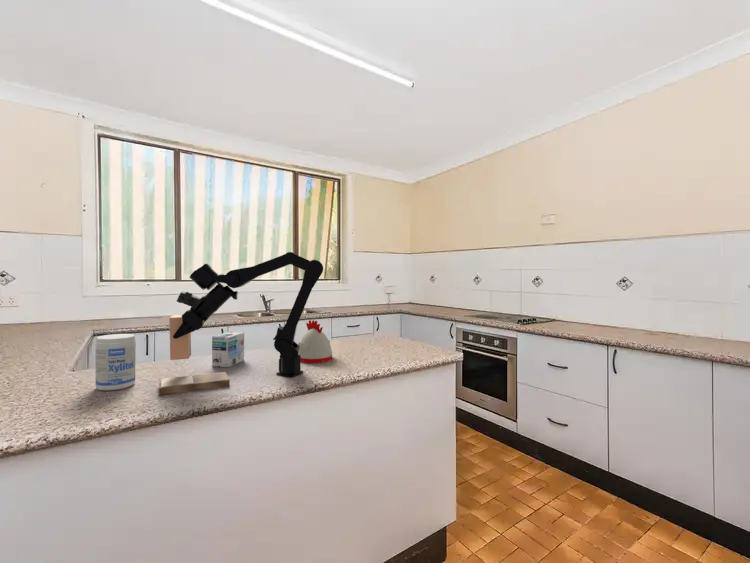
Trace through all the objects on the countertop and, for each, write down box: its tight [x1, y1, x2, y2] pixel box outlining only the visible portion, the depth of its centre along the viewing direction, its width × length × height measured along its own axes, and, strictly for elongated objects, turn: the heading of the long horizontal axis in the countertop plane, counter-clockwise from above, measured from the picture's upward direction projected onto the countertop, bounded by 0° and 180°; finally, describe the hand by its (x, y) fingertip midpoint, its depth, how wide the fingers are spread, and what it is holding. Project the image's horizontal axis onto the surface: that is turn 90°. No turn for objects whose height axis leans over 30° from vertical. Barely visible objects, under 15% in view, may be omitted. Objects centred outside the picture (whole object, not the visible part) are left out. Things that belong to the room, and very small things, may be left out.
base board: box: [158, 371, 231, 396], centre depth 108 cm, size 18×9×2 cm, turn 119°
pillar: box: [168, 314, 192, 361], centre depth 115 cm, size 5×5×13 cm
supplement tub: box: [95, 333, 137, 391], centre depth 107 cm, size 10×10×15 cm
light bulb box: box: [211, 331, 245, 368], centre depth 134 cm, size 11×7×11 cm, turn 168°
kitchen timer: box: [297, 319, 333, 364], centre depth 143 cm, size 14×14×15 cm
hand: (175, 336), depth 114 cm, fingers closed on pillar, 5 cm apart
